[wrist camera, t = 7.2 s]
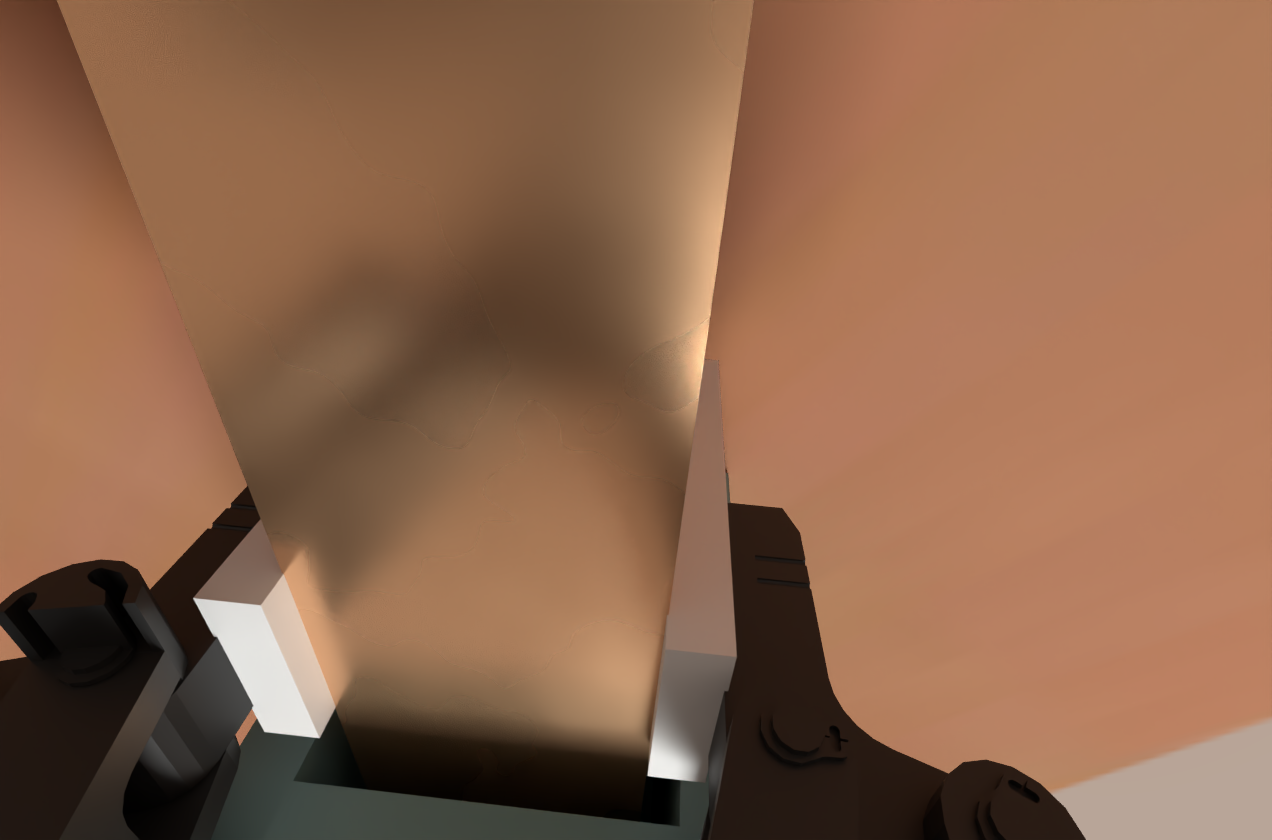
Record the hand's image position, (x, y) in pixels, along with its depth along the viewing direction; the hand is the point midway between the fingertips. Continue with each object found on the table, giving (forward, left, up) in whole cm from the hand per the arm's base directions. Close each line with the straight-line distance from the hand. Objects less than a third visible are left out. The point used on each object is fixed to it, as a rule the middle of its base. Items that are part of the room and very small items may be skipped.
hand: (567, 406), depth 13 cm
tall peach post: (-3, 0, +2) cm, 3 cm away
